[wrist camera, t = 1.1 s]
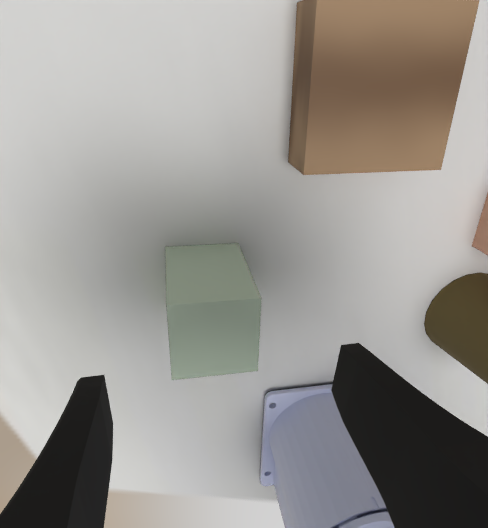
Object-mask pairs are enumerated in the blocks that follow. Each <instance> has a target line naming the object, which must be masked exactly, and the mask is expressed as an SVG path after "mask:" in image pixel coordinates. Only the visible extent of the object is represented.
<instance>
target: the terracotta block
mask: <svg viewBox="0 0 488 528" xmlns="http://www.w3.org/2000/svg"><path fill="white" fill-rule="evenodd" d="M472 246H473V247H475V248H476V249H478V250H480V251H481V252H483V253H485V254H486V255H488V194H487V197H486V200H485V204H484V207H483V210H482V214H481V217H480V220H479V224H478V227H477V230H476V234H475V237H474V241H473V244H472Z"/></svg>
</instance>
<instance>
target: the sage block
mask: <svg viewBox="0 0 488 528" xmlns="http://www.w3.org/2000/svg"><path fill="white" fill-rule="evenodd" d="M165 259H166V307H167V320H168V334H169V348H170V362H171V375H172V380H178V379H187V378H197V377H206V376H216V375H225V374H234V373H244V372H253V371H258V357H259V336H260V316H261V296H260V294H259V291H258V289H257V287H256V284H255V282H254V280H253V277H252V275H251V272H250V270H249V268H248V265H247V263H246V261H245V258H244V256H243V253H242V251H241V249H240V246H239V244H238V243H230V244H210V245H190V246H171V247H165Z"/></svg>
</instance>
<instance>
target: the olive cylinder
mask: <svg viewBox="0 0 488 528" xmlns="http://www.w3.org/2000/svg"><path fill="white" fill-rule="evenodd" d="M424 325H425V330H426V334H427V335H428V337H429V338H430V339H431V341H432V342H434V343H435V344H436V345H438V346H439V347H440V348H441V349H443V350H444V351H445V352H447V353H448V354H449V355H451V356H452V357H453V358H455V359H456V360H457V361H459V362H460V363H461V364H462V365H464V366H465V367H466V368H468V369H469V370H470V371H472V372H473V373H474V374H476V375H477V376H478V377H480V378H481V379H482V380H484V381H485V382H486V383H487V384H488V274H485V273H475V274H469V275H465V276H463V277H461V278H459V279H456V280H454V281H453V282H451V283H450V284H449V285H447V286H446V287H444V288H443V289H442V290H441V291H440V292H439V293H438V295H437V296H436V297H435V298H434V299H433V300H432V302H431V304H430V306H429V308H428V310H427V312H426V317H425V323H424Z"/></svg>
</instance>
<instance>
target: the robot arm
mask: <svg viewBox="0 0 488 528" xmlns="http://www.w3.org/2000/svg"><path fill="white" fill-rule="evenodd" d="M271 403H273V404H271ZM112 448H113V421H112V415H111V410H110V404H109V399H108V394H107V388H106V383H105V377H104V375H99V376H91V377H83V378H80V379H79V380H78V381H77V384H76V386H75V389H74V391H73V393H72V395H71V397H70V400H69V402H68V404H67V406H66V408H65V410H64V412H63V414H62V416H61V418H60V419H59V421H58V423H57V425H56V427H55V429H54V430H53V432H52V434H51V436H50V438H49V439H48V441H47V443H46V445H45V447H44V448H43V450H42V452H41V453H40V455H39V457H38V458H37V460H36V461H35V463H34V465H33V466H32V468H31V469H30V471H29V473H28V474H27V476H26V477H25V479H24V481H23V482H22V484H21V485H20V487H19V488H18V490H17V491H16V492H15V494H14V496H13V497H12V498H11V500H10V501H9V503H8V504H7V506H6V507H5V508H4V510H3V511H2V513H1V514H0V528H104V520H105V512H106V505H107V497H108V489H109V481H110V473H111V465H112ZM260 482H261V485H263V486H270V485H274V487H275V491H276V495H277V499H278V503H279V506H280V510H281V514H282V518H283V521H284V525H285V528H488V437H487V436H485V435H484V434H482V433H481V432H479V431H477V430H476V429H474V428H473V427H471V426H469V425H468V424H466V423H464V422H463V421H461V420H460V419H458V418H457V417H455V416H454V415H452V414H451V413H449V412H448V411H446V410H445V409H444V408H442V407H441V406H439V405H438V404H436V403H435V402H434V401H432V400H431V399H429V398H428V397H427V396H425V395H424V394H423V393H421V392H420V391H419V390H417V389H416V388H415V387H413V386H412V385H411V384H410V383H408V382H407V381H406V380H404V379H403V378H402V377H401V376H399V375H398V374H397V373H396V372H394V371H393V370H392V369H391V368H389V367H388V366H387V365H386V364H384V363H383V362H382V361H381V360H380V359H378V358H377V357H376V356H375V355H373V354H372V353H371V352H370V351H368V350H367V349H366V348H365V347H363V346H362V345H361V344H359V343H355V344H347V345H341V348H340V353H339V357H338V362H337V367H336V371H335V376H334V380H333V384H329V385H320V386H312V387H303V388H294V389H286V390H277V391H270V392H268V393H267V394H266V395H265V402H264V418H263V434H262V450H261V467H260Z"/></svg>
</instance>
